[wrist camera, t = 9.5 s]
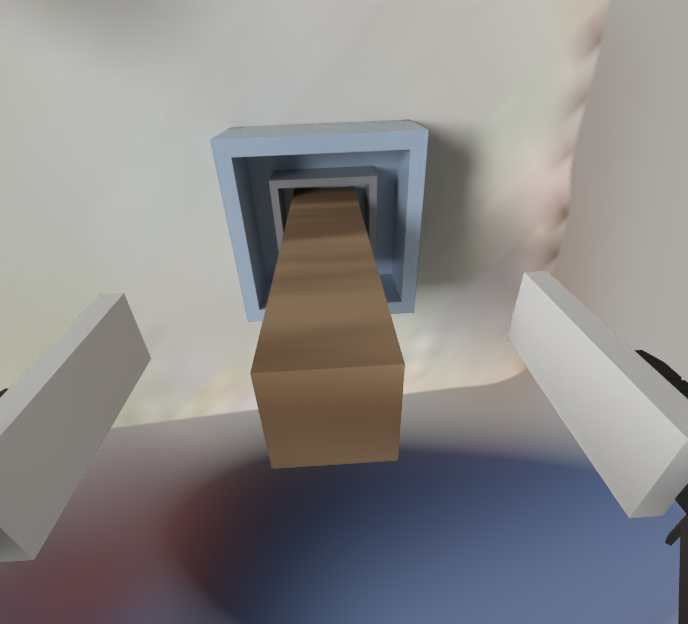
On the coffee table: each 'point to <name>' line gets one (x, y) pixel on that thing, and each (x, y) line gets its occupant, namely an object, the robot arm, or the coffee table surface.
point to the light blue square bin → (319, 172)
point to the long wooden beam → (328, 342)
